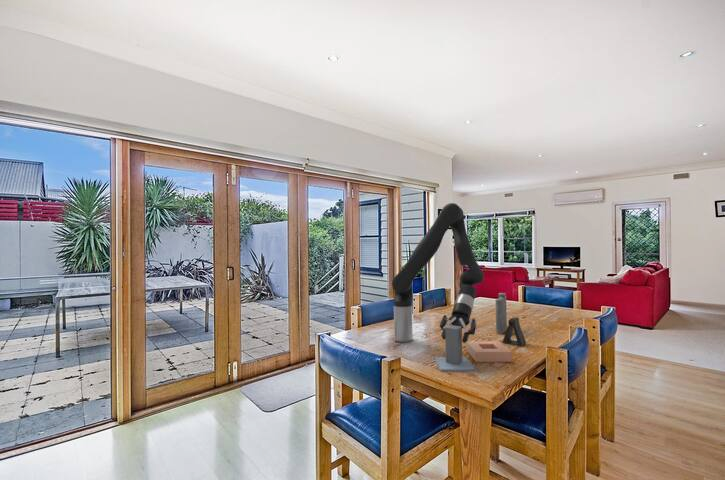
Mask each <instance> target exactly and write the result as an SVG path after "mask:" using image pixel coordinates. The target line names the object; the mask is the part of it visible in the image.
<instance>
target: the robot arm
mask: <svg viewBox="0 0 725 480" xmlns="http://www.w3.org/2000/svg"><path fill="white" fill-rule="evenodd" d="M465 224H466V223H465V216H464V211H463V209H462V207H460V206H459V205H458V204H457V203H455V202H449V203H447V204H445V205H444V206H443V207H442V209H441V210H440V212H439V214H438V216H436V219H435V221H434V222H433V224H432V225H431V227H430V228H429V229H428V231H427V232H426V233H425V235H424V236H423V237H422V239H421V240H420V241H419V242H418V244H417V245H416V247H415V248H414V250H413V252H412V253H411V255H410V256H409V258H408V260H407V262H406V263H405V265H404V266H403V267H402V269H401V270H400V271H399V272H398V273H397V274H396V275H395V276H394V277H393V279H392V281H391V286H392V289H393V290H394V295H393V296H394V298H393V340H394V342H398V343H399V342H401V343H407V342H412V341H413V336H414V335H413V334H414V332H413V281H414V280H415V279H416V277H417V275H418V274H419V272H420V271H422V269H423V268H425V266H426V265H427V264H428V263H429V262H430V261H431V260H432V259H433V257H434V256H435V254H436V253H437V251H438V250H439V248H440V246H441V244H442V241H443V238H444V236H445V234H446V233H447V231H448V230H449V228H450V229H451V232H452V234H453V239H454V247H455V252H456V255H457V259H458V262H459V264H460V266H463V267H466V266H467V268H468V270H465V271H463V272H462V273H461V274H460V277H459V291H458V294H457V297H456V299H455V302H454V305H453V308H452V311H451V315H450V316H447V315H446V314H444V315H443V316H442V318H441V321H440V324H439V328H440V329H441V330H442V333H441V335H440V336H441V338H442V340H445V341H446V336H445V328H446V327H447V326H449V325H454V326H461V327H462V329H463V330H464V332H463V335H462V344H463V343H464V344H467V342H468V340H469V336H471V335H475V333H476V328H477V321H476V319H475V318H472V319H471V315H472V310H473V309H474V302H475V298H476V294H477V290H476V288H475V287H474V286H475V285H478V284H480V283H482V282H484V281H483V280H484V278H485V275H484V271H483V270H482V268H481V266H480V265H479V263H478V261H477V260H476V259H475V258H476V257H475V256H474V252H473V249H472V246H471V243H470V240H469V238H468V234H467V228H466V225H465ZM469 324H470V329H468V327H467V326H468V325H469Z"/></svg>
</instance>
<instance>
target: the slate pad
mask: <svg viewBox="0 0 725 480" xmlns="http://www.w3.org/2000/svg"><path fill="white" fill-rule="evenodd" d="M434 360H435V363H436V365H437V366H438V369H439V371H440V372H475V371H476V369H475V367H474V365H473V364H472V363H471V361H469V359H468V357H466V356H462V360H463V361H462V362H461V363H460V364H458V365H457V364H452V363H447V362H446V356H439V357H438V356H436V357H435V356H434Z"/></svg>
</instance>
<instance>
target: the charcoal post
mask: <svg viewBox="0 0 725 480" xmlns="http://www.w3.org/2000/svg"><path fill="white" fill-rule="evenodd" d="M445 336H446V339H445V357H446V362H447V363H452V364H457V365H458V364H460V363H461V362H462V361H463V360H462V357H463V341H462V339H463V328H462V327H461V326H454V325H452V324H451V325H449V326H447V327H446V328H445Z"/></svg>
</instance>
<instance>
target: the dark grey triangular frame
mask: <svg viewBox="0 0 725 480" xmlns="http://www.w3.org/2000/svg"><path fill="white" fill-rule="evenodd" d="M513 333H514V335H515V338H516V340H514V339H512V335H513ZM502 344H508V345H512V346H519V347H524V345H526V344H527V341H526V338H525V335H524V333H523V330H522V328H521V325H520V318H519V317H518V316H516V317H515V316H513V317H511V318H510V319H509V320H508V325H507V329H506V331H505V334H504V337H503V340H502Z"/></svg>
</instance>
